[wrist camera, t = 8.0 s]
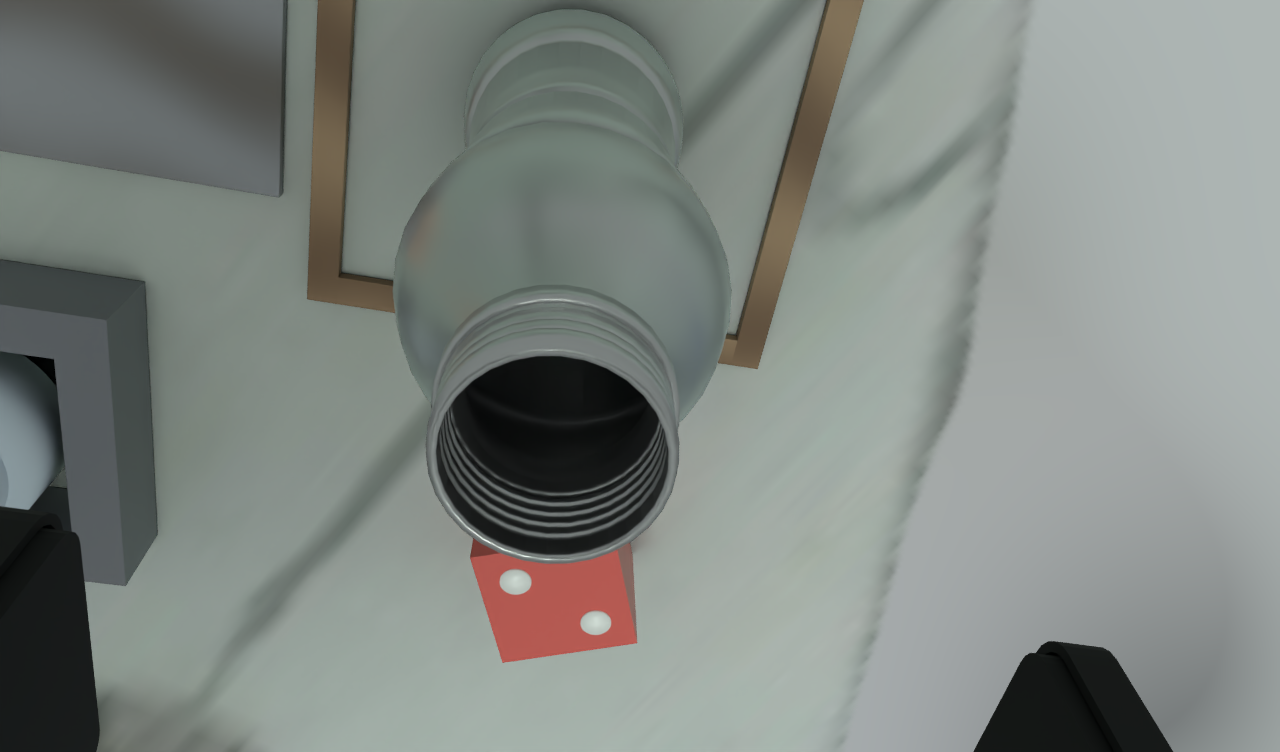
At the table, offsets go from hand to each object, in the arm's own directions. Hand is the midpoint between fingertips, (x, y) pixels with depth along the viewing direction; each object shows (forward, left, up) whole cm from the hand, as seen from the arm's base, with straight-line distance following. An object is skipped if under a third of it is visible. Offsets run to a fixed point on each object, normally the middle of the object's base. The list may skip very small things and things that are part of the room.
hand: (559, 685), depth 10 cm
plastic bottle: (0, 0, -25) cm, 25 cm away
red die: (-16, -2, -24) cm, 29 cm away
